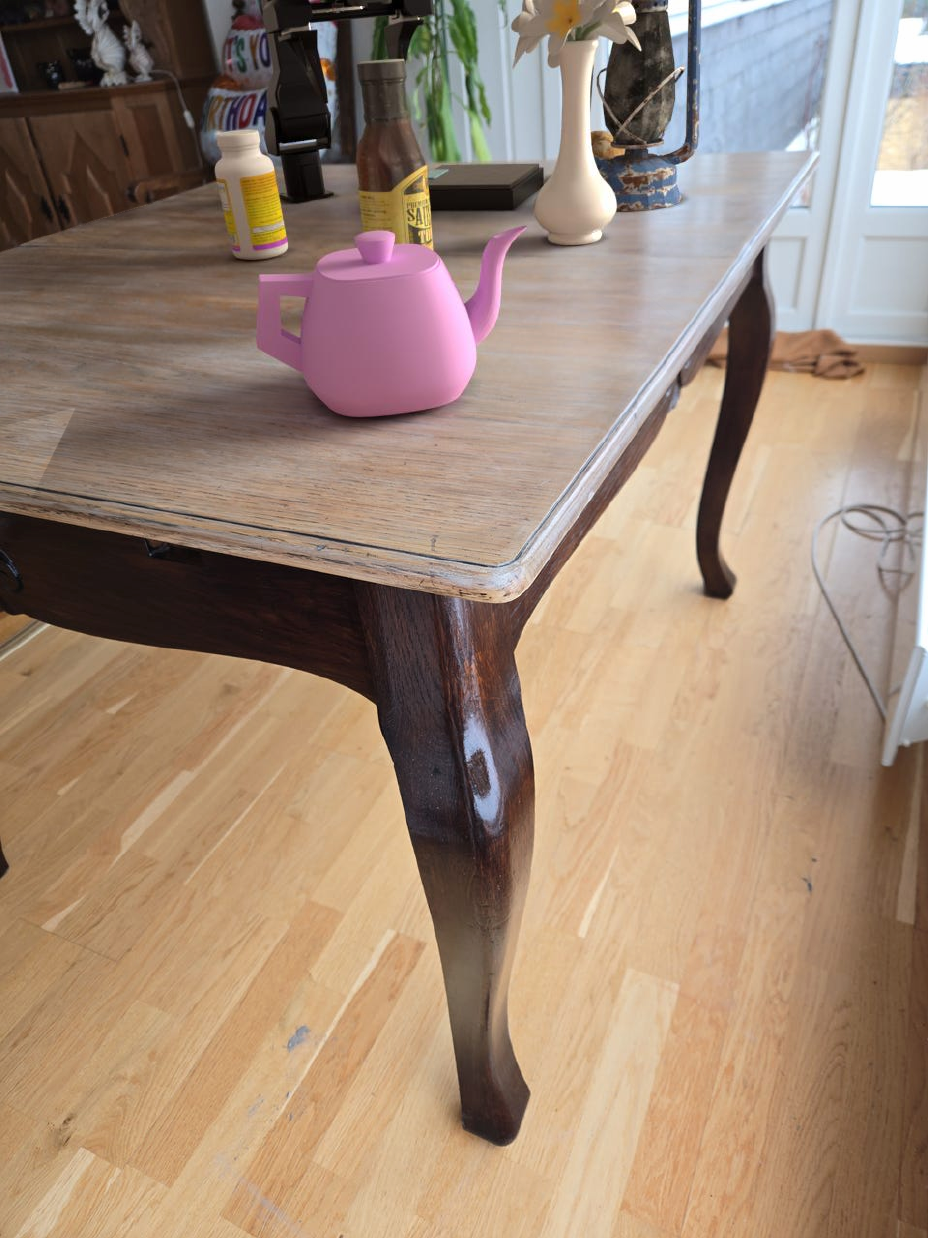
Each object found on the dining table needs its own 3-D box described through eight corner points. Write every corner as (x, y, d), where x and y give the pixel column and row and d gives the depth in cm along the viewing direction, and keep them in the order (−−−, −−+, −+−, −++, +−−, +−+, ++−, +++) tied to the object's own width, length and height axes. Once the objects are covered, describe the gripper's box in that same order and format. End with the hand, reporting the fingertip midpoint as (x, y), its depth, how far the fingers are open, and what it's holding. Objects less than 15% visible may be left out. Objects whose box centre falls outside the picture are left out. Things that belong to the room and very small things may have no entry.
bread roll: (620, 210, 125) (647, 152, 121) (556, 181, 123) (581, 121, 118) (611, 196, 133) (636, 142, 129) (551, 169, 131) (574, 112, 126)
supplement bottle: (299, 247, 104) (278, 126, 97) (272, 262, 100) (248, 135, 92) (251, 246, 106) (227, 128, 99) (222, 260, 102) (195, 137, 94)
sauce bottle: (429, 318, 79) (406, 61, 67) (364, 318, 80) (330, 65, 68) (444, 296, 84) (426, 54, 72) (383, 297, 85) (355, 59, 74)
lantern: (685, 187, 118) (707, -97, 100) (701, 206, 108) (729, -105, 90) (572, 194, 119) (574, -85, 101) (578, 214, 109) (581, -92, 91)
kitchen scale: (401, 209, 118) (399, 184, 116) (441, 186, 130) (439, 163, 128) (513, 209, 114) (512, 183, 112) (543, 185, 126) (543, 161, 124)
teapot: (551, 404, 61) (550, 238, 55) (268, 441, 59) (232, 273, 53) (510, 344, 72) (505, 198, 65) (269, 374, 70) (239, 227, 63)
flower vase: (605, 216, 107) (613, -36, 92) (647, 251, 92) (664, -41, 78) (502, 225, 107) (493, -26, 92) (528, 263, 92) (522, -30, 77)
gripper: (275, -80, 84) (308, 105, 92) (446, -89, 90) (463, 86, 98) (247, -59, 93) (279, 109, 101) (404, -68, 99) (422, 91, 107)
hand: (362, 98), depth 101 cm, fingers open, 9 cm apart
